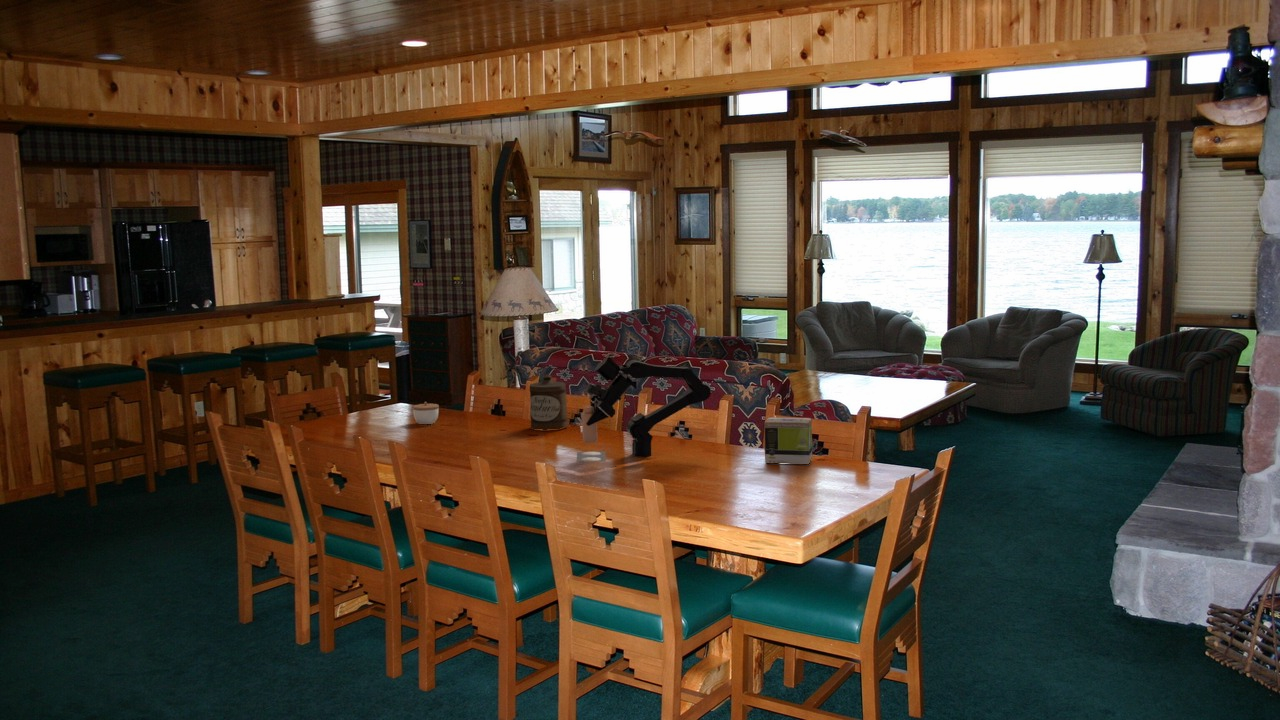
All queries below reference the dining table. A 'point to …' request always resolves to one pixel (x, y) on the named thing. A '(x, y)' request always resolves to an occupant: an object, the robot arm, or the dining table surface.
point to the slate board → (591, 456)
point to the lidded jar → (426, 413)
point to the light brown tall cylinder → (590, 430)
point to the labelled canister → (548, 404)
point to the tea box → (788, 440)
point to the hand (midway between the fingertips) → (585, 423)
